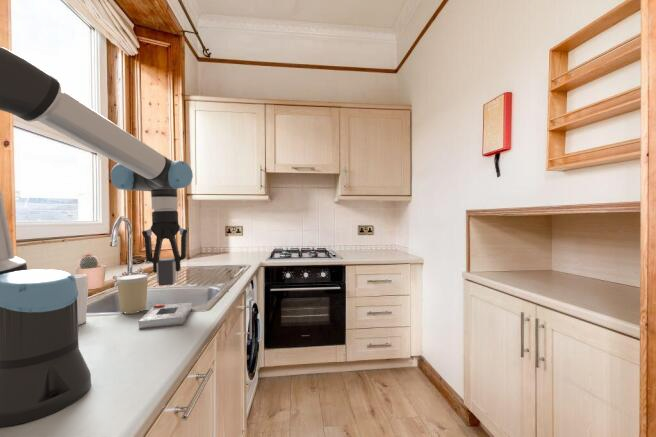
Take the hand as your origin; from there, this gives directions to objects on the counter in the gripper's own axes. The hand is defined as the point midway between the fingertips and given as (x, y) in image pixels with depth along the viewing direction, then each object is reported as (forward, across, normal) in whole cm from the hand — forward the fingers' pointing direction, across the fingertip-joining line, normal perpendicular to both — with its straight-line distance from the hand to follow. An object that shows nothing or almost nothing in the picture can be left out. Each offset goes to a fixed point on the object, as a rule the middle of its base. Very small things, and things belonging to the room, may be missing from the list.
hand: (167, 281), depth 100 cm
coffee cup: (+12, +14, -13) cm, 23 cm away
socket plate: (+12, 0, 0) cm, 12 cm away
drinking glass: (+12, +27, -3) cm, 30 cm away
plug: (+1, 0, 0) cm, 1 cm away
